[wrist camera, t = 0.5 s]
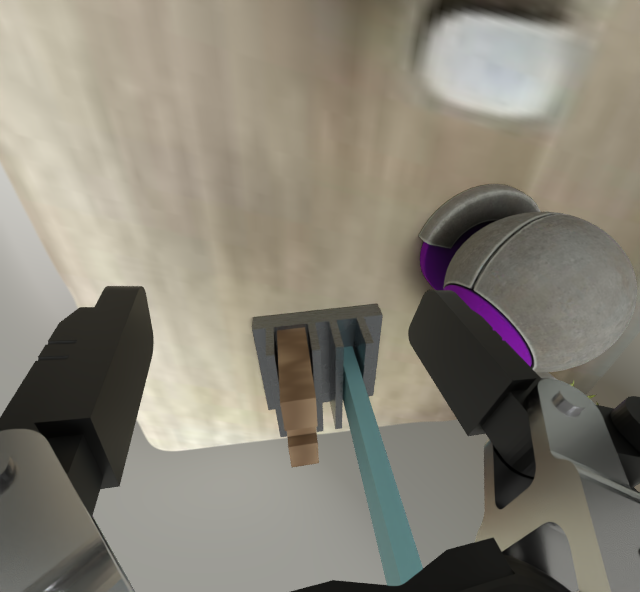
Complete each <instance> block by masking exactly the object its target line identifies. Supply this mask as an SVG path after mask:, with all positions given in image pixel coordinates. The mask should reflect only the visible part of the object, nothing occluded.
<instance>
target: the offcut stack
mask: <svg viewBox="0 0 640 592" xmlns="http://www.w3.org/2000/svg"><path fill="white" fill-rule="evenodd" d="M277 345H278V367H279V390H280V405H281V411H282V417H283V423H284V429H285V431H287V436H288V448H289V454H290V460H291V466H292V467H297V466H304V465H310V464H316V463H319V460H318V459H319V458H318V442H317V435H316V426H317V407H316V395H315V388H314V382H313V375H312V369H311V363H310V356H309V350H308V343H307V337H306V330H305V327H303V328H294V329H286V330H277Z"/></svg>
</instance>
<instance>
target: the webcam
mask: <svg viewBox="0 0 640 592" xmlns="http://www.w3.org/2000/svg"><path fill="white" fill-rule="evenodd" d="M419 237H420V238H421V239H422V240H423V241H424V242H423V245H422V249H421V253H420V266H421V270H422V273H423V275H424V277H425V278H426V280H427V281H428V282H429V284H430V285H431V286H432V287H433V288H434V289H435V290H451V291H454V292H455V293H456V294H457V295H458V296H459V297H460V298H461V299H462V300H463V301H464V302H465V303H466V304H467V305H468V306H469V307H470V308H471V309H472V310H473V311H475V312H476V313H478V314H479V315H481V316H482V317H483V318H484V319H485V320H486V321H487V322H488V323H489V324H490V326H491V327H492V328H493V330H495V331H496V332H497V333H498V334H499V335H500V336H501V337H502V340H503V341H506V342H507V343H508V344H509V345H510V346H511V347H512V348H513V349H514V350H515V351H516V353H517V354H518V355H519V356H520V357H521V358H522V359H523V360H524V361H525V362H526V363H527V364H528V365H529V366H530V367H531V368H532V369H533V370H534V371H535V372H554V371H561V370H566V369H569V368H573V367H576V366H579V365H582V364H584V363H587V362H589V361H590V360H592V359H594V358H596V357H598V356H599V355H600V354H602V353H603V352H604V351H606V350H607V349H608V348H609V347H610V346H612V345H613V344H614V343H615V342H616V341H617V340H618V339H619V337H620V336H621V335H622V333H623V332H624V330H625V329H626V328H627V326H628V324H629V322H630V320H631V318H632V316H633V313H634V309H635V306H636V296H637V282H636V277H635V273H634V270H633V267H632V264H631V262H630V260H629V258H628V257H627V255H626V253H625V252H624V251H623V249H622V248H621V247H620V245H619V244H618V243H617V242H616V241H615V240H614V239H613V238H612V237H611V236H610V235H609V234H607V233H606V232H605V231H603V230H602V229H600V228H599V227H597V226H596V225H594V224H592V223H590V222H588V221H585V220H583V219H580V218H578V217H575V216H571V215H567V214H563V213H554V212H540V210H539V208H538V206H537V204H536V203H535V202H534V201H533V200H532V198H530V197H529V196H528V195H526V194H525V193H523V192H522V191H520V190H518V189H516V188H513V187H510V186H508V185H501V184H488V185H482V186H478V187H475V188H471V189H469V190H466V191H464V192H462V193H460V194H458V195H456V196H455V197H453V198H452V199H450V200H449V201H447V202H446V203H445V204H444V205H442V206H441V207H440V208H439V209H438V210H437V211H436V212H435V213H434V214H433V215H432V216H431V217H430V219H429V220H428V221H427V223H426V224H425V225H424V227H423V229H422V231H421V232H420V234H419Z"/></svg>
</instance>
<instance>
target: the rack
mask: <svg viewBox="0 0 640 592" xmlns="http://www.w3.org/2000/svg"><path fill="white" fill-rule="evenodd" d="M382 316H383V315H382V313H381V311H380V309H379V306H378V304H372V305H363V306H354V307H345V308H336V309H326V310H317V311H308V312H299V313H290V314H281V315H271V316H262V317H253V325H252V331H253V336H254V341H255V346H256V350H257V355H258V360H259V365H260V370H261V375H262V380H263V385H264V390H265V394H266V399H267V404H268V409H269V410H272V409H276V414H277V420H278V425H279V431H280V436H281V437H285V436H287V431H285V429H284V423H283V417H282V411H281V405H280V390H279V367H278V345H277V330H286V329H294V328H303V327H305V330H306V337H307V343H308V350H309V356H310V363H311V369H312V375H313V382H314V388H315V395H316V407H317V426H316V430H317V432H319V431H323V408H322V402H329V401H330V404H331V409H332V414H333V419H334V424H335V429H339V428H342V402H343V363H344V347H350V346H353V350H354V353H355V356H356V359H357V362H358V365H359V368H360V372H361V375H362V378H363V381H364V384H365V387H366V391H367V394H368V397H369V396H373V393H374V384H375V376H376V367H377V359H378V350H379V341H380V333H381V324H382Z"/></svg>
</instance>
